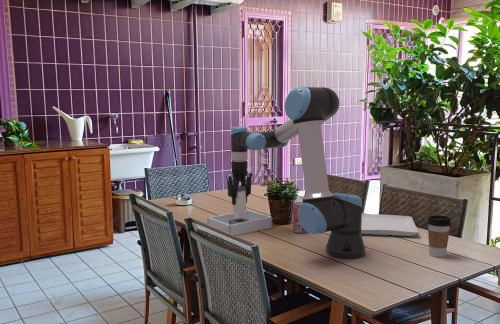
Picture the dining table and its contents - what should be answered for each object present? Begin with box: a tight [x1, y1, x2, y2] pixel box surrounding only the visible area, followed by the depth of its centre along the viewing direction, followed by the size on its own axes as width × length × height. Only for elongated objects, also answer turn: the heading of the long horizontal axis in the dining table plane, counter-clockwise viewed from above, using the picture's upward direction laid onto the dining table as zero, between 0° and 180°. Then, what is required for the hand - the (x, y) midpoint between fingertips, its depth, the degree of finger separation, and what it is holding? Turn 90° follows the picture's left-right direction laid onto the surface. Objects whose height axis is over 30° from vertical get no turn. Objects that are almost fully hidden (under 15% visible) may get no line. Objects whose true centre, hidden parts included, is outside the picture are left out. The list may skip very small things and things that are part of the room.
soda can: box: [292, 201, 308, 234], centre depth 218 cm, size 7×7×13 cm
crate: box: [206, 209, 273, 236], centre depth 226 cm, size 18×24×5 cm
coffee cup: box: [427, 215, 452, 258], centre depth 186 cm, size 8×8×15 cm
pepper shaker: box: [233, 184, 247, 218], centre depth 224 cm, size 4×4×14 cm
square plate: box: [361, 213, 419, 237], centre depth 223 cm, size 27×27×4 cm
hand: (239, 210), depth 225 cm, fingers closed on pepper shaker, 4 cm apart
